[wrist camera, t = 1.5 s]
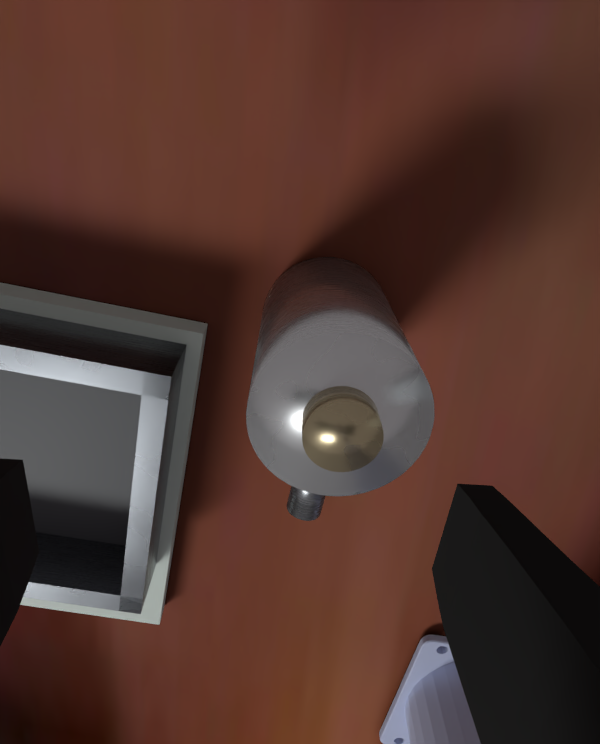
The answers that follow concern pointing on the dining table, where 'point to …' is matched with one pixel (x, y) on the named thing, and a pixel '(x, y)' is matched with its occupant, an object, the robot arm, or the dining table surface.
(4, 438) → the box
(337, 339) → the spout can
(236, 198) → the dining table surface
